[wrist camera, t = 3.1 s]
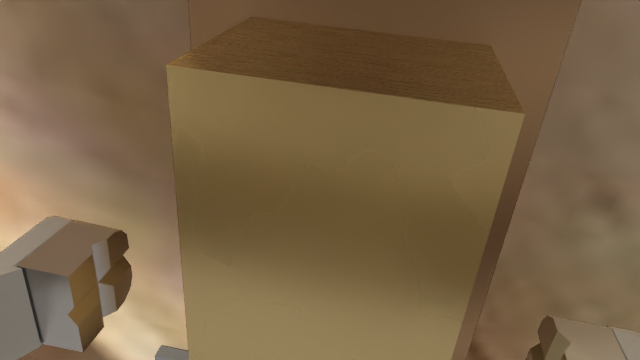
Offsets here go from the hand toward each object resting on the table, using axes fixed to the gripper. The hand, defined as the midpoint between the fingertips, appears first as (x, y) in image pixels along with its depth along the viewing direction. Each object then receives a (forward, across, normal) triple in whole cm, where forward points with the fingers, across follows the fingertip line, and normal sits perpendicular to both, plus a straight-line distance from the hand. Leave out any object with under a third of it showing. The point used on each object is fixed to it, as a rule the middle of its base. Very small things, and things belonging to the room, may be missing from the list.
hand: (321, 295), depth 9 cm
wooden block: (+2, 0, -1) cm, 2 cm away
